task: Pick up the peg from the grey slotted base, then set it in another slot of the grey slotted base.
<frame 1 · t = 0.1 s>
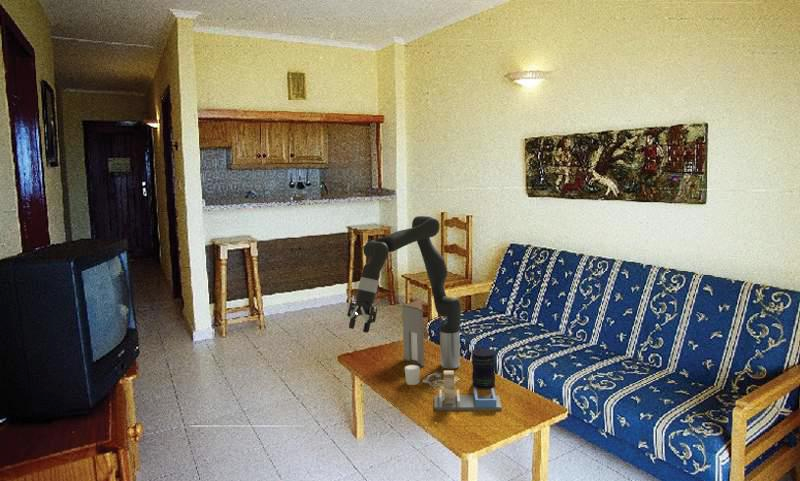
hand: (358, 330, 210), 31 cm above the table, tool tilted 20°, fingers open, 8 cm apart
grey slotted base: (467, 404, 212), on the table
beige cylinder: (412, 382, 236), on the table
cabinet: (413, 359, 265), on the table
peg: (449, 401, 213), point 1 cm above the table, touching grey slotted base
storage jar: (483, 385, 231), on the table
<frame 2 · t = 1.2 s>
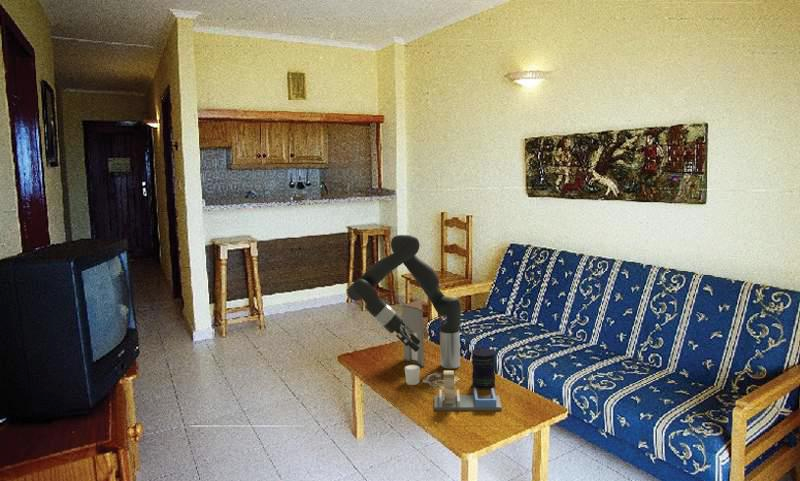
hand: (418, 346, 211), 24 cm above the table, tool tilted 45°, fingers open, 8 cm apart
nothing on the table moved.
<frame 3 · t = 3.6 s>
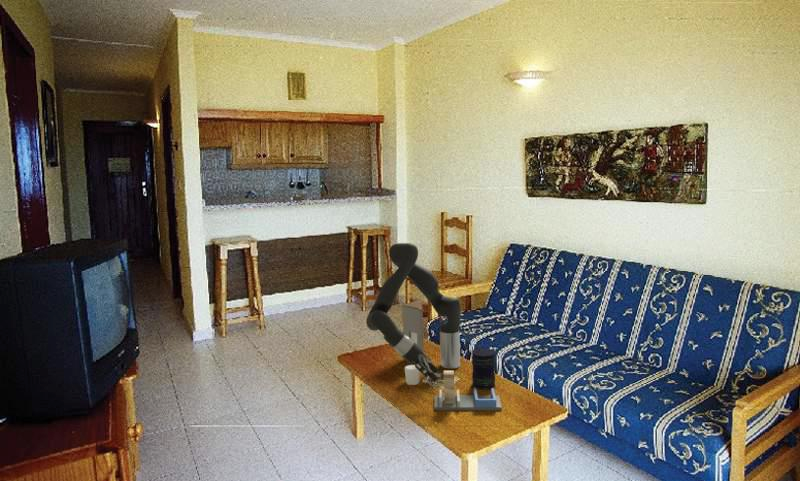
hand: (436, 375, 212), 12 cm above the table, tool tilted 45°, fingers open, 8 cm apart
nothing on the table moved.
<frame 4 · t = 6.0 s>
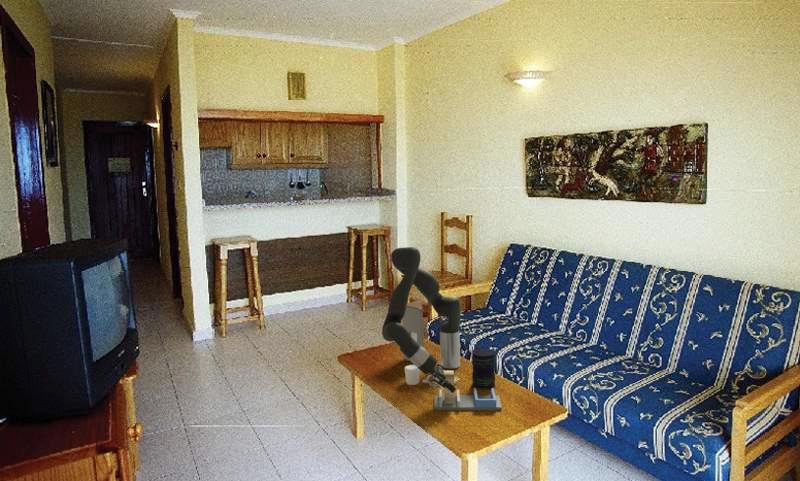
hand: (454, 388, 212), 7 cm above the table, tool tilted 45°, fingers closed on peg, 4 cm apart
peg: (449, 401, 213), point 1 cm above the table, touching grey slotted base, gripper
everything else where it was.
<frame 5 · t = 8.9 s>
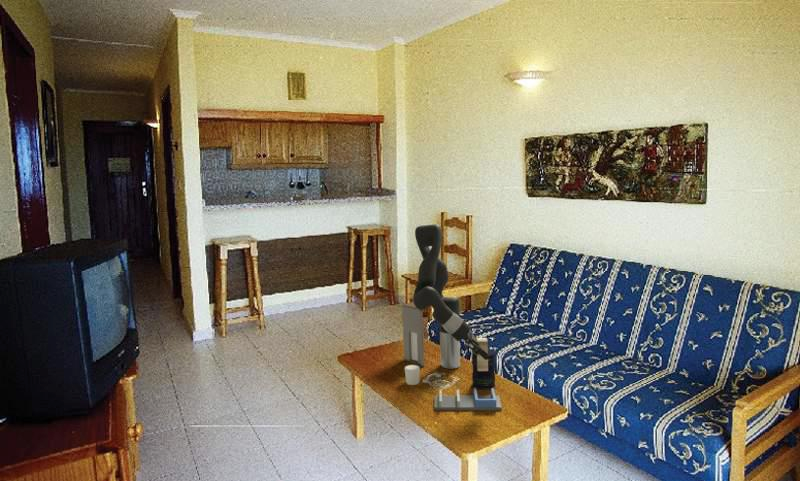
hand: (487, 356, 209), 20 cm above the table, tool tilted 45°, fingers closed on peg, 4 cm apart
peg: (482, 369, 210), point 15 cm above the table, touching gripper
everything else where it was.
when the fingers open (8 cm above the table, at t = 12.2 s): peg drops 1 cm, resting on grey slotted base.
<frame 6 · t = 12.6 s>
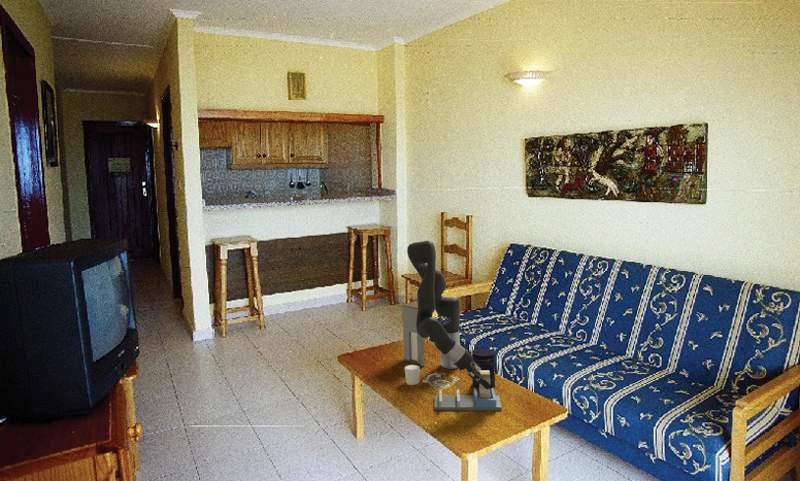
hand: (488, 383, 211), 8 cm above the table, tool tilted 45°, fingers open, 7 cm apart
peg: (484, 401, 212), point 1 cm above the table, touching grey slotted base
everything else where it was.
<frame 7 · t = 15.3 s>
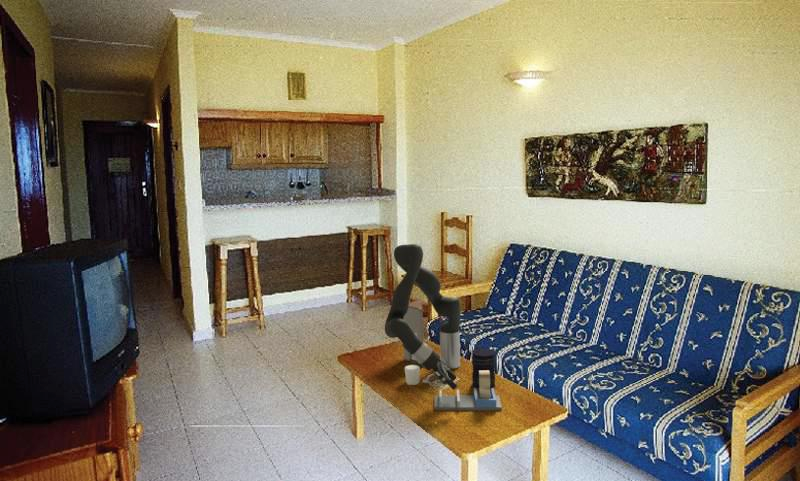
hand: (455, 383, 212), 9 cm above the table, tool tilted 45°, fingers open, 8 cm apart
nothing on the table moved.
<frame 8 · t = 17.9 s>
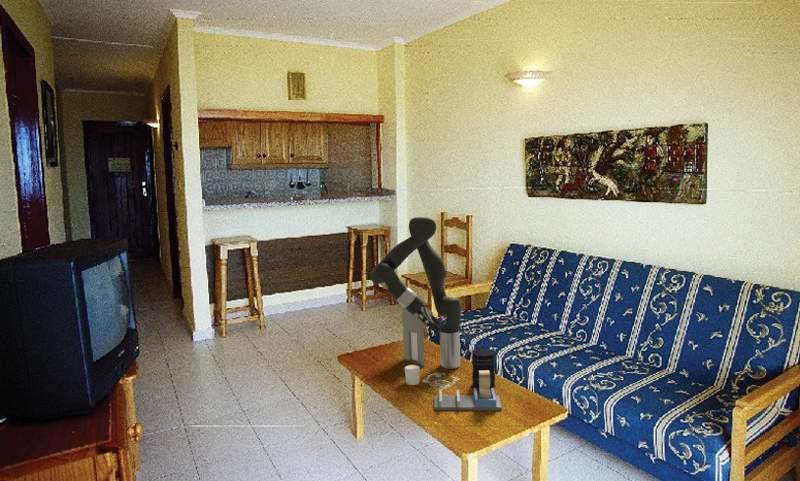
hand: (438, 327, 219), 29 cm above the table, tool tilted 45°, fingers open, 8 cm apart
nothing on the table moved.
at the end: peg 0.1 cm from the target spot on the grey slotted base, point 1.2 cm above the grey slotted base's base; peg tilted 0°; the gripper is holding nothing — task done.
